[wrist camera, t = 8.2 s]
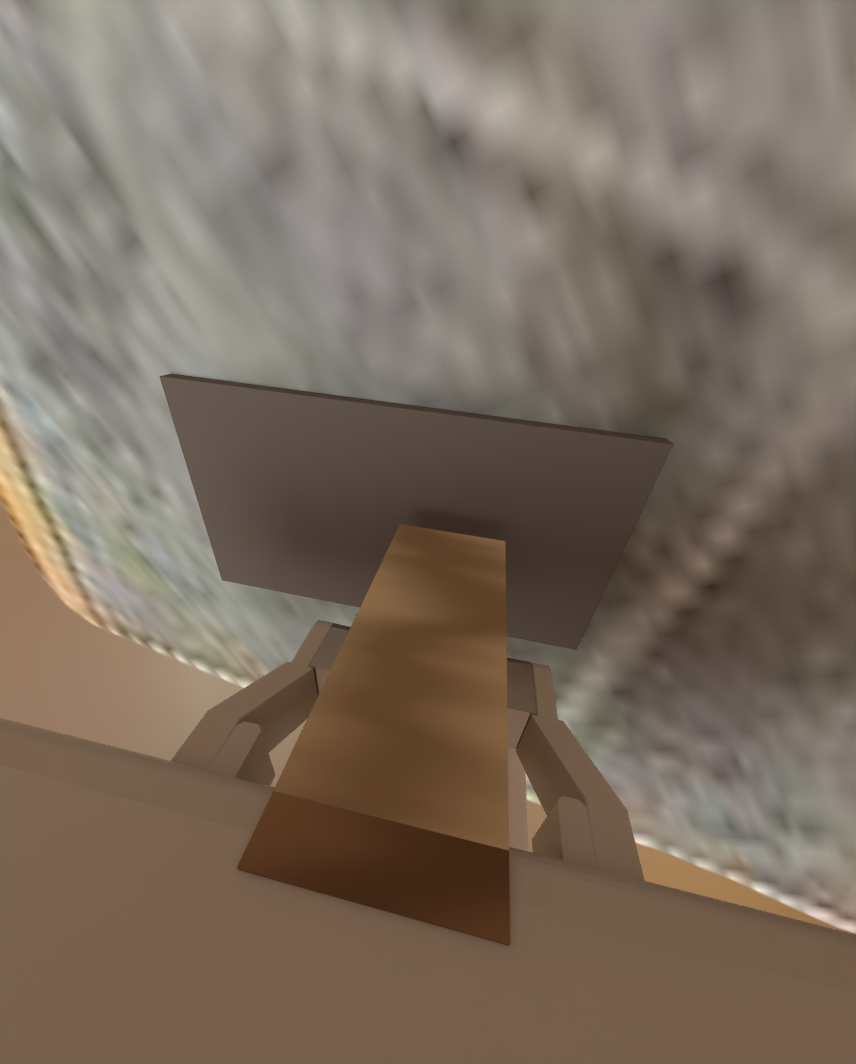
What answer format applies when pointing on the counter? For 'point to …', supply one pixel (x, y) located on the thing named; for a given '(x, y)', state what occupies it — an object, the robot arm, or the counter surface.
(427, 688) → the maple block
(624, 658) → the counter surface
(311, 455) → the rubber mat
